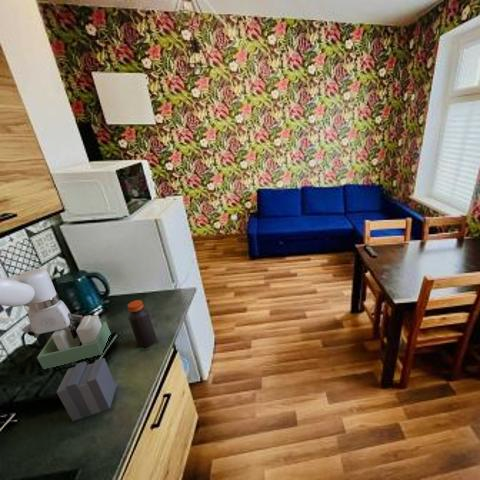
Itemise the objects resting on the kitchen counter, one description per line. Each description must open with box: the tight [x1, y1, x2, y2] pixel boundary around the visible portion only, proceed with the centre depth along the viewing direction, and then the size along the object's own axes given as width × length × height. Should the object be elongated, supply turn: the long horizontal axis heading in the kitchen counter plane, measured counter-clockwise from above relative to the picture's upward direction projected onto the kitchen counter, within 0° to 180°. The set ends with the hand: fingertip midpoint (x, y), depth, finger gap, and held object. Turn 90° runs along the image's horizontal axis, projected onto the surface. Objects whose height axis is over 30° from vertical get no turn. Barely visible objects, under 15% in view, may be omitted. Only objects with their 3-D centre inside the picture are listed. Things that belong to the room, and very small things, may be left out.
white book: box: [51, 328, 80, 351], centre depth 104 cm, size 2×9×13 cm, turn 24°
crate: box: [36, 321, 112, 370], centre depth 106 cm, size 18×14×8 cm
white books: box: [76, 314, 102, 345], centre depth 107 cm, size 4×9×13 cm, turn 24°
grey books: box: [56, 357, 117, 422], centre depth 85 cm, size 10×9×14 cm
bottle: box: [127, 299, 158, 349], centre depth 109 cm, size 7×7×20 cm
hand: (60, 339), depth 103 cm, fingers open, 8 cm apart
